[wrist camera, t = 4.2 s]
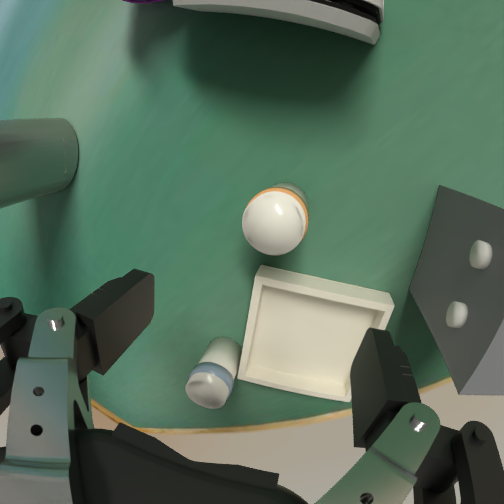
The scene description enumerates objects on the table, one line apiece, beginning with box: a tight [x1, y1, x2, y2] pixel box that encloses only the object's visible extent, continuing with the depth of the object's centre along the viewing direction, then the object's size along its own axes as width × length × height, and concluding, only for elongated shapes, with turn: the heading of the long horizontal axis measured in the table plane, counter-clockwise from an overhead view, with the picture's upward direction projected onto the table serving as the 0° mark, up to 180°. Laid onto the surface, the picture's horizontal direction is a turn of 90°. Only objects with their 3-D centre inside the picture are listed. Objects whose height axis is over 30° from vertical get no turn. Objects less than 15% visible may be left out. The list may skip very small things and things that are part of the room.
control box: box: [409, 185, 504, 395], centre depth 16 cm, size 9×10×14 cm
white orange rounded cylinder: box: [242, 182, 309, 255], centre depth 22 cm, size 4×4×7 cm
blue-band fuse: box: [185, 337, 242, 409], centre depth 28 cm, size 4×4×7 cm
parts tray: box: [237, 265, 395, 402], centre depth 27 cm, size 12×12×2 cm
